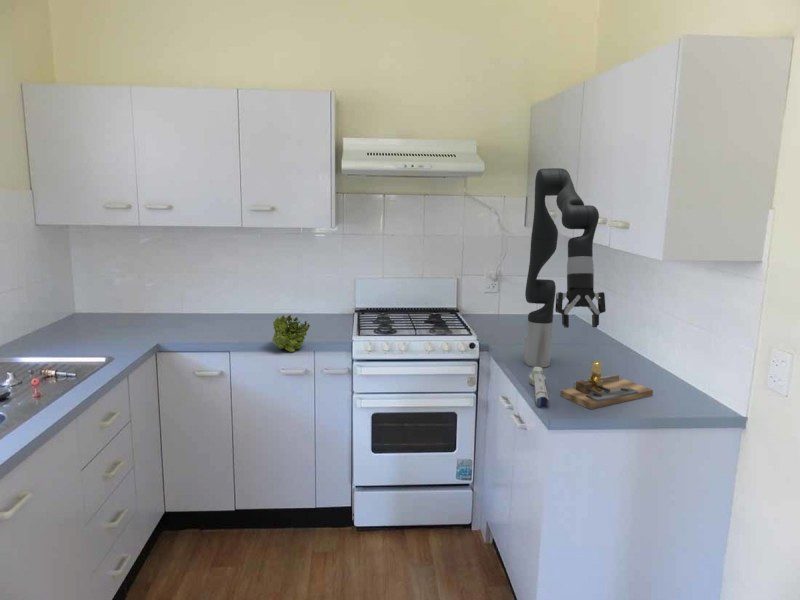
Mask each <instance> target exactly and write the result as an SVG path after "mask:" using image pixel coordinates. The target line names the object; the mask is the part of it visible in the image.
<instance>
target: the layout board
mask: <svg viewBox="0 0 800 600" xmlns="http://www.w3.org/2000/svg"><path fill="white" fill-rule="evenodd" d="M587 380H588V379H587ZM587 380H584V381H587ZM601 380H602V381H603V387H606V388H608V389H610V392H607V391H604V390H598V392H599V394H595V393H592V392H591V393H586V394H584V393H581V392H579V391H577V390H576V381H575V382H573V387H571V388H565V389H560V395H561V396H560V397H562V398H565V399H566V398H567V400H568V399H569V401H570V402H573V403H575V404H577V405H579V406H582V407H584V408H585V409H588V410H593V409H599V408H603V407H607V406H611V405H612V406H613V405H616V404H621V403H626V402H630V401H635V400H639V399H643V398H649V397H652V396H653V393H654V390H653V389H652V388H649V387H646V386H643V385H641V384H638V383H636V382H634V381H630V380H628V379H625V378H622V377H621V378H620V375H619V374H611V375H606V376H601ZM648 396H649V397H648Z"/></svg>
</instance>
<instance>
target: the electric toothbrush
mask: <svg viewBox="0 0 800 600" xmlns="http://www.w3.org/2000/svg"><path fill="white" fill-rule="evenodd" d="M529 380H530V381H529V383H530V385H532V386H533V387H534V401H535V405H536V406H537V407H539V408H543V407H546V408H547V407H549V406H550V403H549V402H550V394H548V392H547V388H546V383H545V381H546V375H544V370H543V367H542V368H541V367H532V370H531V373H530V374H529Z"/></svg>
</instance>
